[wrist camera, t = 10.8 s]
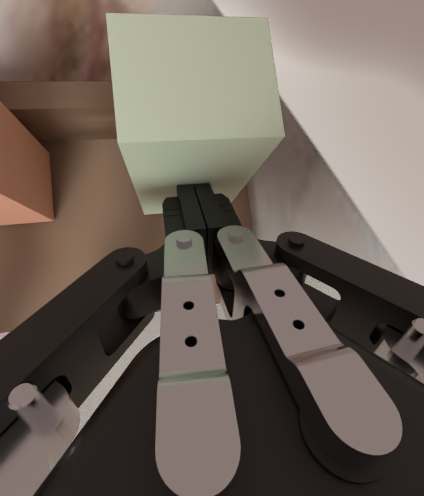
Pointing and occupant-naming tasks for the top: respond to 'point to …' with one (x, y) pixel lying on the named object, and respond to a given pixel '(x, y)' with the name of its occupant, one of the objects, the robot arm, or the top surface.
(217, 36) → the sage key
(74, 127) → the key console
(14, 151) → the terracotta key
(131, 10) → the top surface
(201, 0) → the top surface
